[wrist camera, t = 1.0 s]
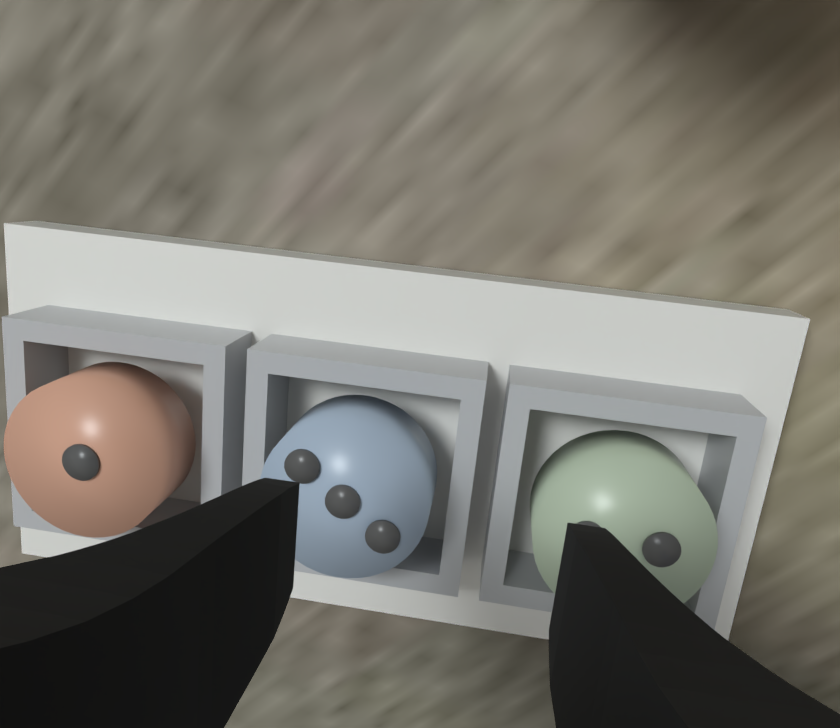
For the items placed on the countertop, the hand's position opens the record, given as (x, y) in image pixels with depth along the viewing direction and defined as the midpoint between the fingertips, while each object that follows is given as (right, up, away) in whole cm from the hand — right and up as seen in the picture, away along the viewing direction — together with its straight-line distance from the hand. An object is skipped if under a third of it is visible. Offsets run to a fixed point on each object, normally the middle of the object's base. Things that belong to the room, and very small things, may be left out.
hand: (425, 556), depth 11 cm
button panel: (-1, +1, +11) cm, 11 cm away
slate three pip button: (-2, 0, +8) cm, 8 cm away
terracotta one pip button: (-9, +1, +8) cm, 12 cm away
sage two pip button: (+5, -1, +7) cm, 9 cm away
